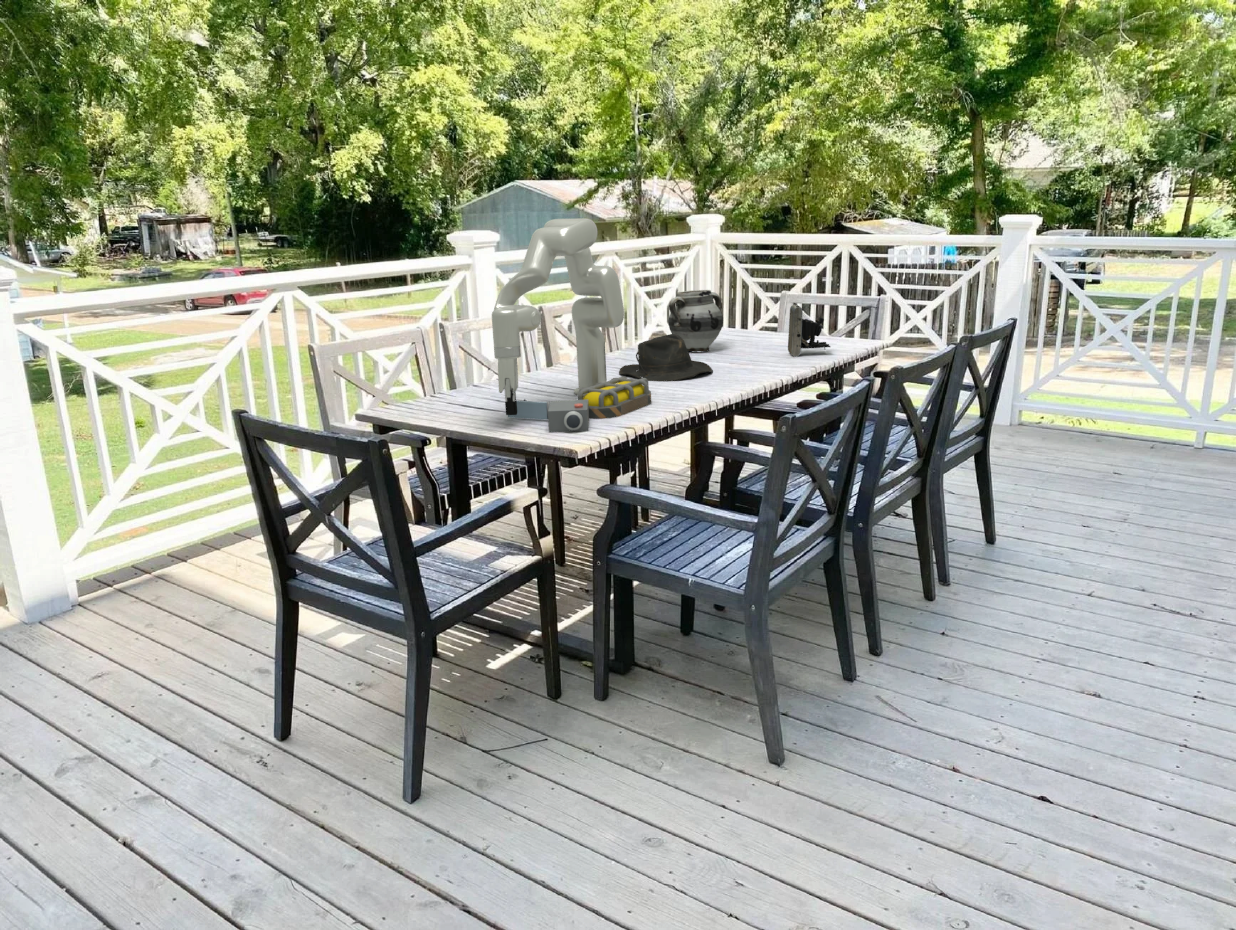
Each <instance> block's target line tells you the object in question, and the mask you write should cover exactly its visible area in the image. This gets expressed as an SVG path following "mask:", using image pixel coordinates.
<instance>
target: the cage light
mask: <svg viewBox="0 0 1236 930" xmlns="http://www.w3.org/2000/svg"><path fill="white" fill-rule="evenodd" d="M649 385H650V384H649V381H648V380H647V379H646V378H643V377H642V378H641V379H639V378H635V379H634V378H627V376H626V375H623V376H622V375H621V376H620V377H613V378H611V379H610V380H607V382H604V383H597V384H596V385H595V386H591V387H588V388H581V389H580V390H579V392H578V395H577V400H586V399H588V404H589V420H599V419H600V420H602V419H603V420H604V419H613V418H617V417H621V416H625V415H627V414H629V413H631V412H634V411H637V410H639V409H642V408H645V407H647V406H649V405H651V404H652V391H651V390H650V388H649ZM586 393H588V394H586ZM583 394H586V395H585V396H583Z"/></svg>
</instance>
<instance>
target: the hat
mask: <svg viewBox="0 0 1236 930" xmlns="http://www.w3.org/2000/svg"><path fill="white" fill-rule="evenodd" d="M635 358H636V361H637V364H636V363H635V364H634V363H633V364H629V365H628V364H626V365H623V366H621V367H620V368H619V370H618V374H619V375H621V376H622V375H623V376H626V377H627V376H628V377H632V378H635V379H641V378H646V379H647V380H648V382H662V383H663V382H664V383H665V382H667V383H668V382H677V381H681V380H688V379H691V378H695V377H696V376H698V375H699V374H703V373H713V369H712V367H711V366H710V365H709V364H707V363H706V362H703V361H699V360H692V357H691V355H690V352H688V350H687V348H686V345H685V342H684V340H683V338H682V337H680V336H679V335H677V334H672V333H670V334H665V335H661V336H657V337H653V338H652V339H649V340H646V341H642V342H639V343H638V345H637V352H636V353H635Z"/></svg>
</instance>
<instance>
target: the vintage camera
mask: <svg viewBox="0 0 1236 930" xmlns="http://www.w3.org/2000/svg"><path fill="white" fill-rule="evenodd" d="M824 321H825V319H824V318H823V317H818V321H817V322H816V321H814V320H810V319H808V318H805V319H804V318H803V308H802V307H801V306H799V305H798V304H797V303H793V304H792V305H791V306H790V307H789V321H788V339H787V340H788V342H787V351H788V352H789V354H790V353H791V354H790V355H791V356H793V357H794V356H797V357H799V356H800V354H801V351H802V350H801V349H822V348H824V349H826V348H831V345H830V344H829V343H827V342H826V341H821V342H820V340H816V337H820V335H821V333H822V330H823V325H821V324H823V323H824ZM815 340H816V341H815ZM808 341H809V342H808Z"/></svg>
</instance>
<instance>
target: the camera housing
mask: <svg viewBox="0 0 1236 930" xmlns="http://www.w3.org/2000/svg"><path fill="white" fill-rule="evenodd" d="M547 421H548V432H549V433H560V432H561V433H564V432H565V433H566V432H585V431H586V432H588V431H589V428H590V426H589V424H590V419H589V404H588V399H586V400H578V399H569V400H568V399H565V400H550V406H549V410H548V419H547Z"/></svg>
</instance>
